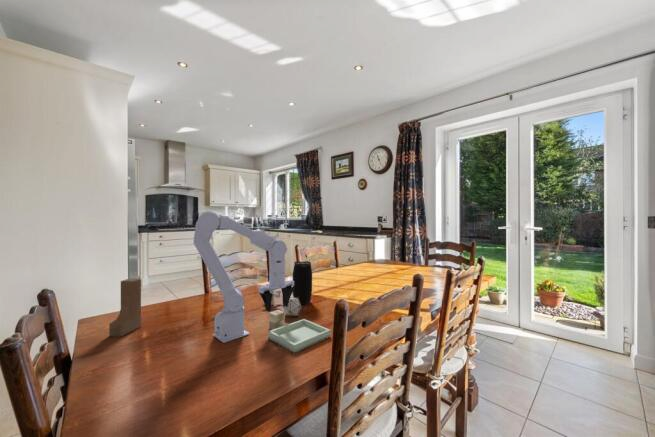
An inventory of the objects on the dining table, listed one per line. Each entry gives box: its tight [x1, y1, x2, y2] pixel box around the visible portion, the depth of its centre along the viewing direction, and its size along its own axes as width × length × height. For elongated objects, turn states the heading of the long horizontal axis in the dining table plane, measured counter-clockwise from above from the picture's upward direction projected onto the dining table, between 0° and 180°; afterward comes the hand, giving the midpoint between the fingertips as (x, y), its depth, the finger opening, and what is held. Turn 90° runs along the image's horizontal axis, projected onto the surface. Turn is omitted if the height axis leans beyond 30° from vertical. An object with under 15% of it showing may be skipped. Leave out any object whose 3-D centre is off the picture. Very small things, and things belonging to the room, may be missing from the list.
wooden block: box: [108, 277, 142, 338], centre depth 99 cm, size 9×4×18 cm, turn 173°
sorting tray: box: [267, 318, 332, 354], centre depth 95 cm, size 16×14×2 cm
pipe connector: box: [270, 289, 282, 306], centre depth 130 cm, size 10×10×10 cm
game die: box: [280, 296, 304, 318], centre depth 116 cm, size 9×8×10 cm
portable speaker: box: [292, 260, 313, 305], centre depth 133 cm, size 9×9×20 cm
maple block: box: [268, 309, 286, 331], centre depth 103 cm, size 4×4×6 cm
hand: (277, 308), depth 103 cm, fingers open, 7 cm apart
